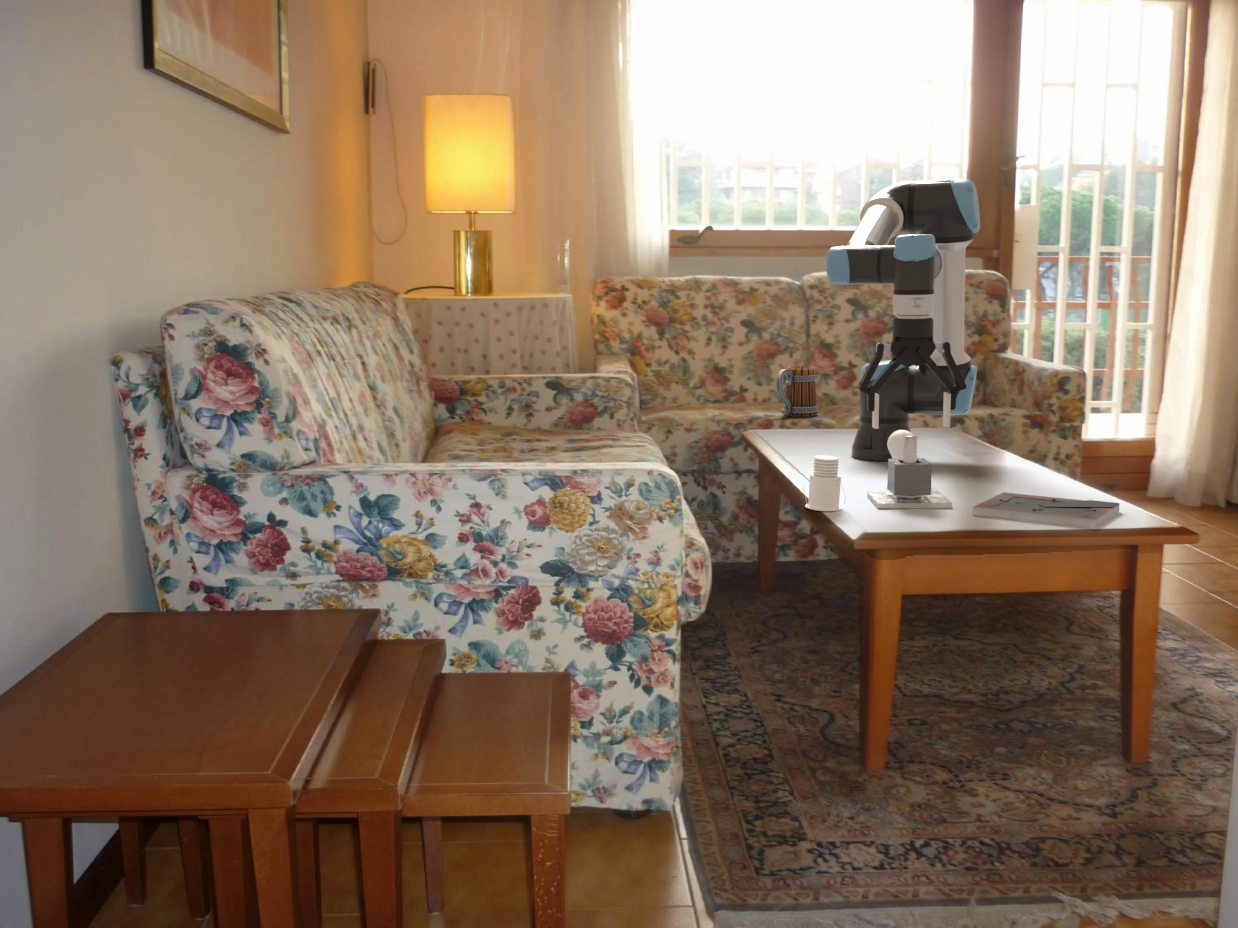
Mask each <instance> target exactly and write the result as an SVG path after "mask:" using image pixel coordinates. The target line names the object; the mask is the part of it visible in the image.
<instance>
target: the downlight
mask: <svg viewBox="0 0 1238 928" xmlns="http://www.w3.org/2000/svg"><path fill="white" fill-rule="evenodd" d="M838 472H839V457H837V456H833V455H815V456H814V457H813V472H811V473H810V474H809V487H808V502H807V497H806V496H805V501H806V504H805V505H804V507H805V508H806V509H809V510H811V511H812V510H813V511H817V512H818V511H819V512H837V511H841V510H842V509H843V506H841V505H840V496H841V487H842V488H844V487H843V485H841V484H843V483H842V476H841V474H839V473H838ZM802 489H803V494H804V495H806V493H805V490H804V489H805V487H803V488H802ZM842 490H843V492H845V489H842ZM843 494H844V496H846V495H845V493H843ZM845 504H846V500H844V505H845Z"/></svg>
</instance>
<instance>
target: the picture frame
mask: <svg viewBox="0 0 1238 928" xmlns="http://www.w3.org/2000/svg"><path fill="white" fill-rule="evenodd" d="M971 511H972V516H979V517H986V518H987V517H988V518H996V519H1006V520H1013V521H1014V520H1015V521H1021V522H1031V523H1038V524H1039V523H1040V524H1046V525H1047V524H1048V525H1057V526H1065V527H1072V528H1073V527H1074V528H1075V527H1076V528H1081V529H1082V528H1083V529H1090V530H1093V529H1096V528H1098V527H1099V526H1101V525H1102V524H1104V523H1105V522H1107V521H1108V520H1110V519H1111V518H1113V517H1114V516H1116V515H1118V514H1119V513H1120V503H1119V502H1111V501H1110V502H1109V501H1103V500H1093V499H1087V500H1082V499H1073V498H1063V497H1055V496H1044V495H1043V496H1042V495H1033V494H1023V493H1012V492H1004V491H1003V492H1001V493H998V494H997V495H994V496H992V497H991V498H988V499H986V500H984V501H982V502H980V503H977V504H975V505H973V506H972V510H971Z"/></svg>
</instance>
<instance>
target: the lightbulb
mask: <svg viewBox="0 0 1238 928" xmlns="http://www.w3.org/2000/svg"><path fill="white" fill-rule="evenodd" d="M906 435H913V436H915V435H914V434H913V433H912V431H911V432H909V431H906V430H898V431H895V432H894V433H892V434H891V435H890V437H889V439H888V442H887V446H888V450H889V452H890V454H891V456H892V458H893V459H903V436H906Z"/></svg>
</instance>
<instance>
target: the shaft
mask: <svg viewBox="0 0 1238 928" xmlns="http://www.w3.org/2000/svg"><path fill="white" fill-rule="evenodd" d="M913 435H914V434H913ZM913 435H906V436H903V463H917V459H918V457H917V456H918V454H917V453H918V436H917V435H914V436H913ZM866 493H867V498H868V499H869V500H870V501H871V503H872V504H875V505H874V506H875V507H876V508H877V509H878V508H906V509H953V502H952V501H951V500H949V499H948V498H947V497H946V496H945V495H944V494H942V493H941V492H940V491H939V490H931V495H893V494H892V493H891V492H890V491H889V490H888V491H886V490H885V491H883V490H882V491H881V490H880V491H878V490H877V491H876V490H875V491H867V492H866Z"/></svg>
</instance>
